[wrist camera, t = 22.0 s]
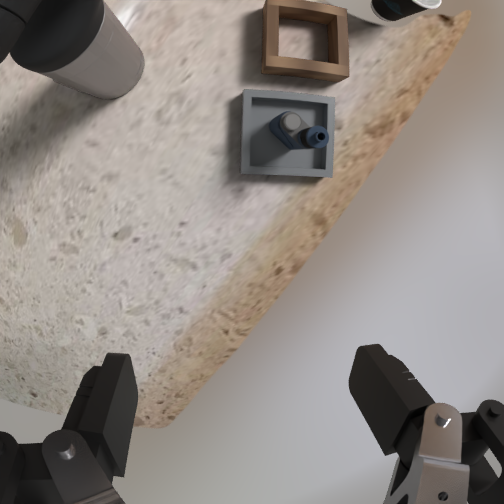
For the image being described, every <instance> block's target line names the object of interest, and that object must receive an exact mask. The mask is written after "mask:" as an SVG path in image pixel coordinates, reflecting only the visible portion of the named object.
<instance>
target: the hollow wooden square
mask: <svg viewBox="0 0 504 504" xmlns="http://www.w3.org/2000/svg"><path fill="white" fill-rule="evenodd" d="M279 18H288V19H295V20H302V21H309V22H315V23H321V24H326V25H327V26H328V63H327V62H320V61H314V60H307V59H299V58H290V57H280V56H278V43H279ZM261 74H273V75H285V76H295V77H304V78H312V79H319V80H326V81H333V82H340V81H342V80H344V79H346V78H348V77H349V43H348V23H347V10H346V9H345V8H340V7H336V6H331V5H326V4H321V3H316V2H310V1H304V0H266V1H265V4H264V7H263V33H262V72H261Z"/></svg>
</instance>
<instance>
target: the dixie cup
mask: <svg viewBox="0 0 504 504" xmlns="http://www.w3.org/2000/svg"><path fill="white" fill-rule="evenodd" d="M440 4H441V0H372V2H371V8H372V10H373V12H374V13H375V15H376V16H378V17H379V18H380V19H382V20H384V21H396V20H399V19H401V18H404V17H406V16H409V15H412V14H415V13H418V12H421V11H424V10H427V9H435V8H437V7H439V6H440Z"/></svg>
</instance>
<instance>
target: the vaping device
mask: <svg viewBox="0 0 504 504" xmlns="http://www.w3.org/2000/svg"><path fill="white" fill-rule="evenodd" d="M269 129H270V131H271V132H272V133H273V134H274V135H275V136H276V137H277V138H278V139H279V140H280V141H281V142H282V143H283V144H284V145H285V146H286V147H287V148H288V149H290V150H300V149H307V150H308V149H313V148H323V147H325V146H326V145H327V143H328V141H329V134H328V132H327V130H326V129H325V128H324V127H322V126H313V127H310V126H309V125H308V124H307V123H306V122H305V121H304V120H303V119H302V118H301V117H300V116H299V115H298V114H297V113H295V112H291V111H286V112H283V113H281V114H280V115H278V116H276V117H275V118H273V119H272V120H271V122H270V124H269Z"/></svg>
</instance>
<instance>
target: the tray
mask: <svg viewBox="0 0 504 504" xmlns="http://www.w3.org/2000/svg"><path fill="white" fill-rule="evenodd" d="M286 111H291V112H295V113H297V114H298V115H299V116H300V117H301V118H302V119H303V120H304V121H305V122H306V123H307V124H308V125H309V126H310V127H313V126H322V127H324V128H325V129H326V130H327V132H328V134H329V141H328V143H327V145H326V146H325V147H323V148H313V149H308V150H307V149H300V150H290V149H288V148H287V147H286V146H285V145H284V144H283V143H282V142H281V141H280V140H279V139H278V138H277V137H276V136H275V135H274V134H273V133H272V132H271V131H270V129H269V124H270V122H271V120H272V119H273V118H275V117H276V116H278V115H280V114H281V113H283V112H286ZM334 126H335V97H328V96H320V95H312V94H304V93H294V92H283V91H269V90H252V89H244V90H243V92H242V116H241V153H240V173H241V174H266V175H294V176H314V177H330V178H332V174H333V154H334Z"/></svg>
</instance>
